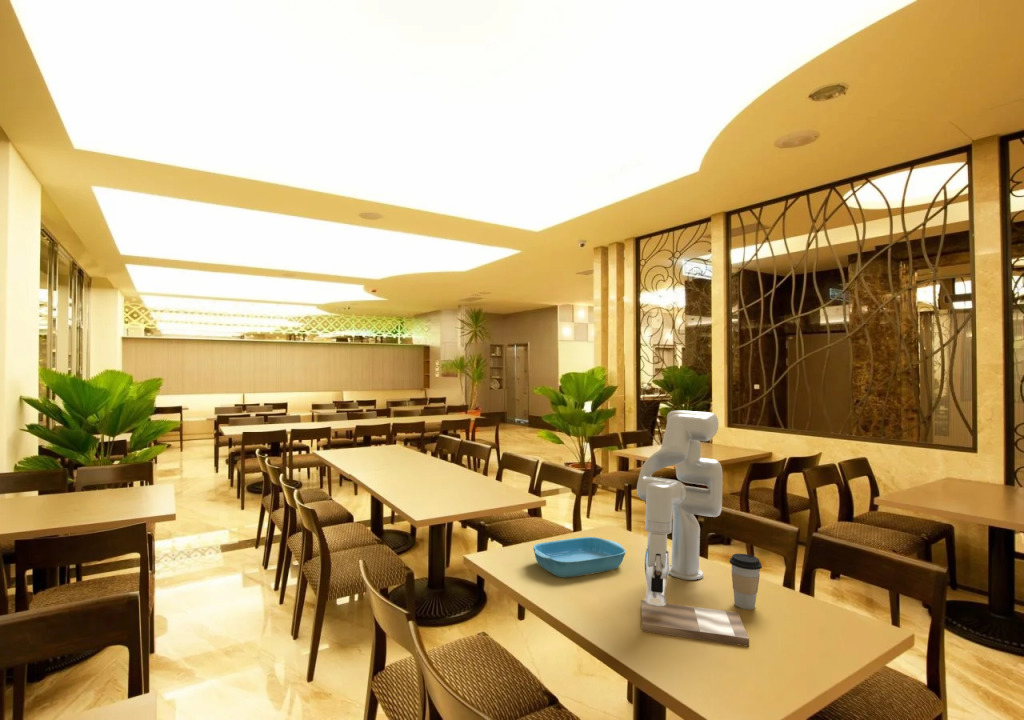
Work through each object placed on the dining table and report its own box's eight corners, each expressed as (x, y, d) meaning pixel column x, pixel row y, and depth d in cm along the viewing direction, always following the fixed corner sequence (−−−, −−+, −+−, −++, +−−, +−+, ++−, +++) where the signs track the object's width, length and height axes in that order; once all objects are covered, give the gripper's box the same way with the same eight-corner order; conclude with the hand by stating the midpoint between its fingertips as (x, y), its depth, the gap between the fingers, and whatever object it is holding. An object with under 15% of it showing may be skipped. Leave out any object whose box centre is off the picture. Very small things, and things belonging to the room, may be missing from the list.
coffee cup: (760, 602, 169) (761, 555, 170) (761, 614, 161) (762, 565, 161) (729, 596, 173) (730, 550, 173) (727, 607, 165) (728, 559, 165)
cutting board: (641, 606, 163) (641, 599, 163) (737, 619, 157) (737, 612, 157) (641, 630, 148) (642, 623, 148) (749, 646, 142) (749, 638, 142)
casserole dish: (598, 550, 215) (599, 532, 215) (637, 569, 195) (637, 550, 195) (521, 563, 197) (521, 544, 197) (554, 586, 177) (555, 564, 177)
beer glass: (669, 609, 151) (670, 556, 151) (644, 606, 152) (645, 553, 152) (667, 599, 157) (668, 548, 158) (643, 596, 159) (644, 546, 159)
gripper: (644, 516, 165) (642, 574, 164) (645, 532, 148) (643, 597, 147) (669, 519, 163) (667, 577, 162) (673, 535, 146) (671, 600, 146)
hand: (656, 586), depth 155 cm, fingers closed on beer glass, 6 cm apart
